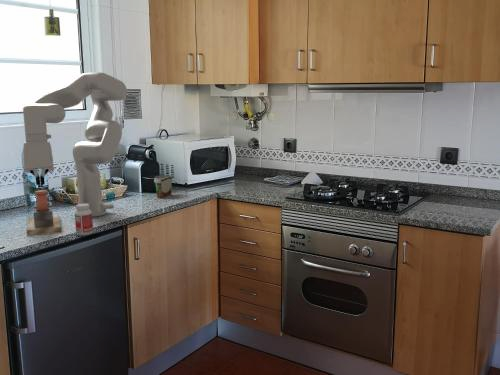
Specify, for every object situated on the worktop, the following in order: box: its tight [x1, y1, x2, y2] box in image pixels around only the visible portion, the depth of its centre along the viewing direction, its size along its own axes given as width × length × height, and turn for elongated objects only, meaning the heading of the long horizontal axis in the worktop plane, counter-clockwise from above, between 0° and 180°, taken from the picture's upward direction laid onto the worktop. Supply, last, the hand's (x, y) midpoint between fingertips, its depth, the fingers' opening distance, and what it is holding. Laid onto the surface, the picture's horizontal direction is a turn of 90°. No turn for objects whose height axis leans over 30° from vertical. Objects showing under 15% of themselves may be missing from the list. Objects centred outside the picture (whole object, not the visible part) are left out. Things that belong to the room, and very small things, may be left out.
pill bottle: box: [74, 203, 94, 236], centre depth 198 cm, size 6×6×11 cm
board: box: [26, 201, 63, 236], centre depth 210 cm, size 12×22×8 cm, turn 21°
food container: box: [153, 174, 173, 200], centre depth 266 cm, size 12×6×10 cm, turn 161°
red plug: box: [34, 189, 48, 212], centre depth 203 cm, size 4×4×9 cm
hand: (40, 186), depth 202 cm, fingers closed
